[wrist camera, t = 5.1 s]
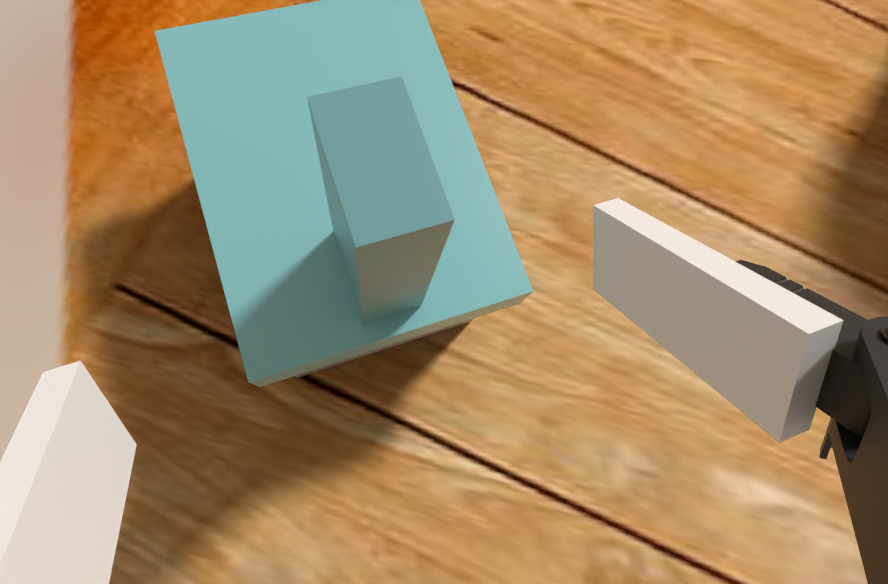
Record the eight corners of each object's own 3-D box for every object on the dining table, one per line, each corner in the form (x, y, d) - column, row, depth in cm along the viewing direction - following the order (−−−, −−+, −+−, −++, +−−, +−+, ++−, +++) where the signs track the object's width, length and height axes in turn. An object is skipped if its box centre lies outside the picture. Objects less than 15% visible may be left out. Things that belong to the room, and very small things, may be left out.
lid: (173, 65, 25) (21, -215, 14) (410, 18, 27) (434, -252, 16) (260, 387, 22) (150, 343, 11) (519, 303, 24) (637, 200, 13)
